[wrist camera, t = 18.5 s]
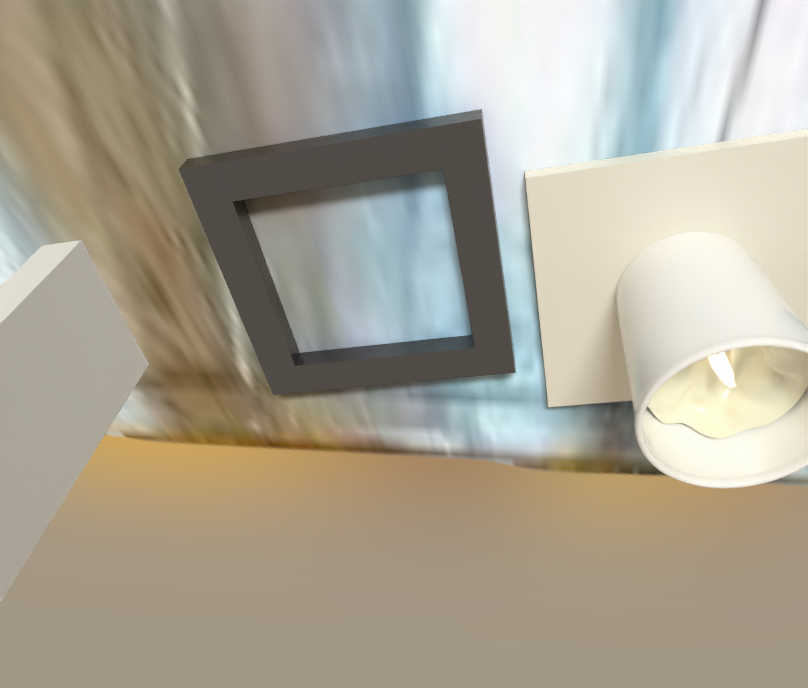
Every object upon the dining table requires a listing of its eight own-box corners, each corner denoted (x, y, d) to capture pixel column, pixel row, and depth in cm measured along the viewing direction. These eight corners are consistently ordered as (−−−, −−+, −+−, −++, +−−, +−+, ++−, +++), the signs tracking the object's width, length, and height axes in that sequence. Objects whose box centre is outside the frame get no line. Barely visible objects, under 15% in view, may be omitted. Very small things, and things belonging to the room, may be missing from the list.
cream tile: (864, 120, 36) (872, 126, 35) (812, 375, 47) (818, 385, 46) (524, 171, 40) (525, 178, 39) (547, 398, 50) (548, 407, 49)
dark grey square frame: (481, 109, 38) (481, 118, 37) (514, 358, 48) (515, 372, 47) (187, 159, 41) (178, 169, 40) (278, 381, 52) (273, 394, 51)
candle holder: (719, 363, 46) (781, 505, 36) (579, 331, 45) (605, 467, 36) (802, 239, 40) (901, 369, 30) (641, 200, 39) (692, 321, 30)
